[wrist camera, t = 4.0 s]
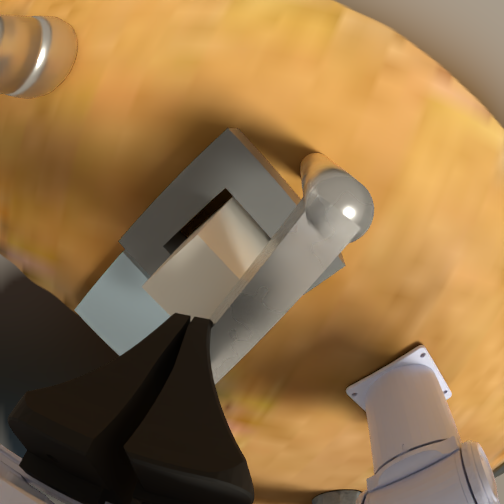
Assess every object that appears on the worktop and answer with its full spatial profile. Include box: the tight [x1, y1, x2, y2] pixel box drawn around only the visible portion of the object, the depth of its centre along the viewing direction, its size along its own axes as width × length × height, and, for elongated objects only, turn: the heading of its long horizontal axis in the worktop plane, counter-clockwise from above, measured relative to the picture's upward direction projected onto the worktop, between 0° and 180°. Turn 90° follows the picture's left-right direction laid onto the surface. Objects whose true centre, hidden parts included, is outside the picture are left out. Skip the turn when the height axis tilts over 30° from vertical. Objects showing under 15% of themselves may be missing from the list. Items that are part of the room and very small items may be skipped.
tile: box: [75, 249, 170, 356], centre depth 24 cm, size 9×9×2 cm
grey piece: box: [209, 153, 374, 384], centre depth 15 cm, size 13×2×10 cm, turn 146°
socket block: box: [118, 128, 345, 295], centre depth 19 cm, size 10×10×3 cm
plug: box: [142, 197, 271, 322], centre depth 17 cm, size 4×4×8 cm
